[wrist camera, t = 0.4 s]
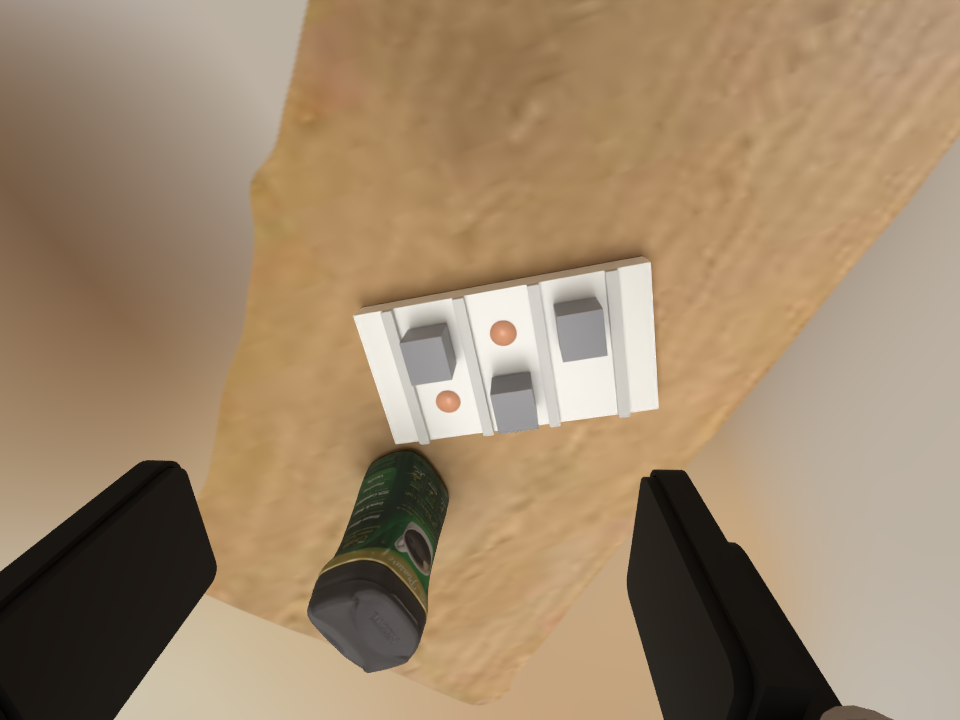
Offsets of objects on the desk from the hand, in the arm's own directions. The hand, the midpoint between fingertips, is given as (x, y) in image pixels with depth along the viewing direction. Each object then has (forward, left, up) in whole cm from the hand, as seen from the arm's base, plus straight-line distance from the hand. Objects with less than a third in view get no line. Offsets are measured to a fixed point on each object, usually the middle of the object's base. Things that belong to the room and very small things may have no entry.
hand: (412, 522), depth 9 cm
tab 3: (+7, +6, -30) cm, 32 cm away
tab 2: (+13, 0, -30) cm, 33 cm away
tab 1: (+7, -7, -30) cm, 32 cm away
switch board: (+10, 0, -33) cm, 35 cm away
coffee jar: (+24, -14, -33) cm, 44 cm away
